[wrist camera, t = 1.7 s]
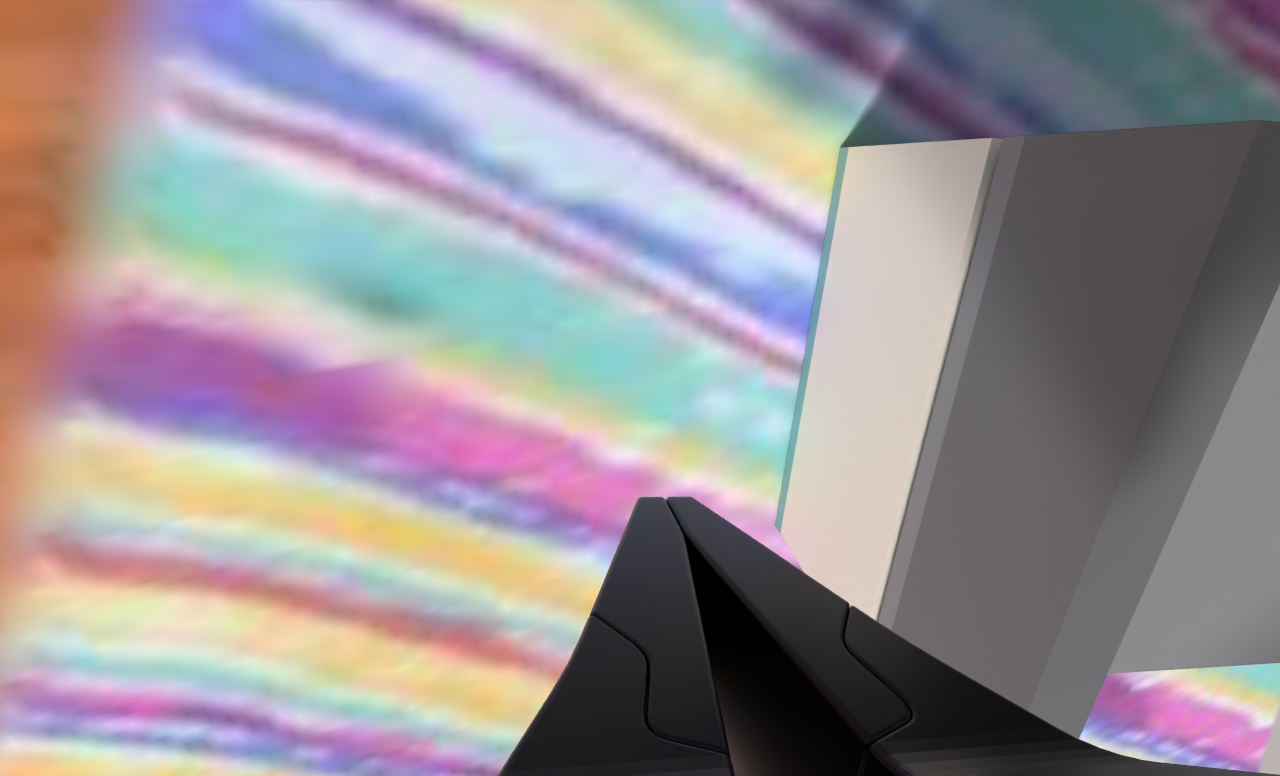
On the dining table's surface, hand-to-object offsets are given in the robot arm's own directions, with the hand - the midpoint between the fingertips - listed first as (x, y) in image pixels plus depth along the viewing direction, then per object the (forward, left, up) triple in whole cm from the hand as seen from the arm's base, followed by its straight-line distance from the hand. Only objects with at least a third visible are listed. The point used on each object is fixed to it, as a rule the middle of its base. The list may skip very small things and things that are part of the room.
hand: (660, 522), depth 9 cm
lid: (0, -13, -2) cm, 13 cm away
